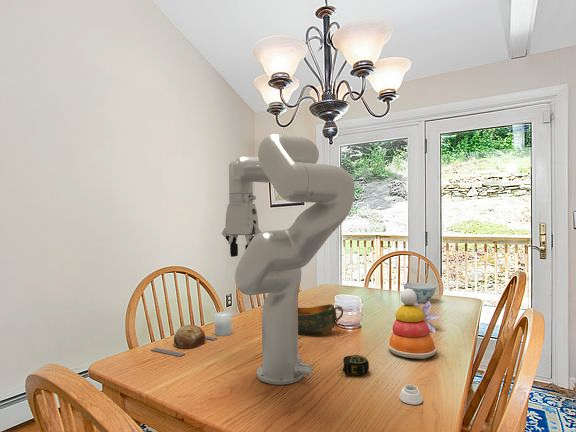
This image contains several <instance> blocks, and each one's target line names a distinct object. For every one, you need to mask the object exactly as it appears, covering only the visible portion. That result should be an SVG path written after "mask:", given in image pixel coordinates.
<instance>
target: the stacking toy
mask: <svg viewBox="0 0 576 432" xmlns="http://www.w3.org/2000/svg"><path fill="white" fill-rule="evenodd" d="M400 301H401V302H402V303H403V304H402V305H401V306H399V308H398V309H397V310H396V313H395V320H394V322H393V324H392V333H391V335H390V337H389V341H388V342H387V347H388V350H389V351H390V352H391V353H392V354H394V355H396V356H399V357H403V358H408V359H420V360H424V359H427V358H430V357H433V356H434V355H435V354H436V353H437V351H438V348H437V346H436V345H435V342H434V339H433V337H432V336H431V334H430V333H431V331H430V330H429V326H428V324H427V322H426V321H425V316H424V313H423V311H422V308H421V307H420V308H421V309H420V308H419V307H418V306H416V305H414V304H415V303H416V301H417V296H416V293H415V292H414V291H413V290H412V289H404V290H403V291H402V292H401V294H400Z"/></svg>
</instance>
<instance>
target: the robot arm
mask: <svg viewBox="0 0 576 432" xmlns="http://www.w3.org/2000/svg"><path fill="white" fill-rule="evenodd" d="M319 157H320V153H319V148H318V147H317V145H316V144H315V142H313V141H312V140H311V139H309V138H307V137H303V136H297V135H296V136H295V135H288V134H280V133H270V134H269V135H265V137H264V138H263V139H262V140H261V142H260V144H259V146H258V150H257V156H247V155H246V156H245V155H243V156H239V157H237V158H236V159H235V160H232V161H230V163H229V164H228V204H227V207H226V213H225V226H224V229H223V230H222V232H221V235H222V236H223V237H224V238H225V240H226V241H227V243H228V245H230V246H229V253H230V257H231V258H234V257H237V256H239V244H238V243H237V242H238V238H239V237H238V236H244V237H245V241H246V244H245V246H244V248H245V249H244V252H243V254H242V255H241V257H240V259H239V261H238V263H237V266H236V268H235V273H234V280H235V286H236V288H237V290H238V291H239V292H240V293H242V294H244V295H247V296H256V295H263V294H267V295H266V297H265V299H264V301H263V304H262V309H261V334H262V335H261V337H262V338H261V339H262V342H261V343H262V344H261V347H262V349H261V350H262V351H261V352H262V354H261V356H262V358H261V359H262V363H261V365H259V367H258V368H257V369H256V377H257V379H258V380H259V381H261V382H263V383H266V384H269V385H274V386H275V385H277V386H279V385H280V386H281V385H282V386H283V385H289V384H294V383H296V382H299V381H301V380H302V379H303V378H304V377H305V376H310V377H311V376H312V375H313V374H312V373H313V368H312V364H310V363H304V361H303V356H299V334H298V308H299V293H300V285H301V280H302V268H303V267H305V266H307V265H308V264H309V263H310V262H311V260H312V259H313V258H314V257H315V255H316V254H317V253H318V251H319V250H320V249H321V248H322V246H323V245H324V244H325V243H326V241H327V240H328V239H329V238H330V236H331V235H332V234H333V233H334V232H335V231H336V230H337V229H338V228H339V226H340V225H341V224H342V223H343V222H344V221H346V219H347V217H348V215H349V213H350V212H351V209H352V208H353V205H354V201H355V195H356V194H355V191H356V190H355V182H354V179H353V177H352V175H351V174H350V173H349V172H348V171H347V170H346V169H344V168H342V167H339V166H338V165H337V166H336V165H331V164H326V163H325V164H324V163H318V161H319ZM254 183H265V184H266V183H268V184H271V185H272V187H273V189H274V190H275V192H276V193H277V194H278V196H280V197H281V199H283V200H284V201H287V202H292V203H313V204H312V205H311V206H310V207H307V208H306V209H305V210H303V211H302V212H301V213H300V214H299V215H298V216H297V217H296V219H295V220H294V222H293V223H292V224H291V226H290V227H289V228H286V229H281V230H264V231H262V230H261V229H260V228H259V218H258V216H259V215H258V211H257V210H258V209H257V206H256V203H254V201H255V200H257V196H256V195H254V193H253V192H254V191H253V190H254V188H253V187H254V186H253V185H254Z"/></svg>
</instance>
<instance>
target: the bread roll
mask: <svg viewBox="0 0 576 432" xmlns="http://www.w3.org/2000/svg"><path fill="white" fill-rule="evenodd" d="M205 336H206V335H205V331H204V330H203V329H202V328H201V327H200V326H198V325H195V324H185V325H183V326H181V327H179V328H178V329H177V331H175V334H174V337H173V343H174V344H173V347H176V348H179V349H182V350H183V349H184V350H190V349H194V348H195V349H196V348H198V347H201V346H202V345H203V344H204V343H205V341H206V339H205Z"/></svg>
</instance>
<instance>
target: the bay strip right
mask: <svg viewBox="0 0 576 432" xmlns="http://www.w3.org/2000/svg"><path fill="white" fill-rule="evenodd" d="M217 339H218V337H213V336H209V335H205V340H208V341H212V342H214V341H216V340H217Z"/></svg>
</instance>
